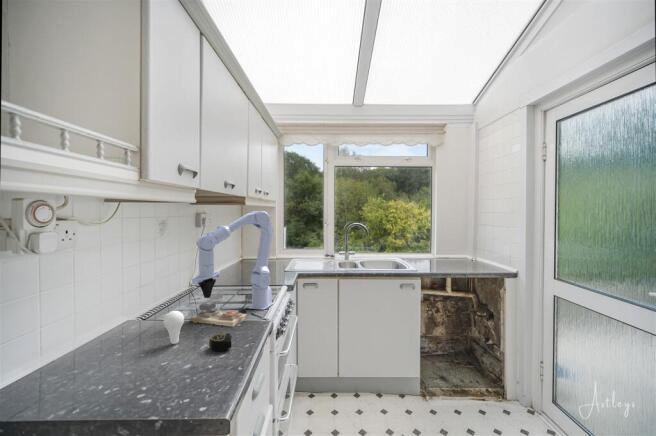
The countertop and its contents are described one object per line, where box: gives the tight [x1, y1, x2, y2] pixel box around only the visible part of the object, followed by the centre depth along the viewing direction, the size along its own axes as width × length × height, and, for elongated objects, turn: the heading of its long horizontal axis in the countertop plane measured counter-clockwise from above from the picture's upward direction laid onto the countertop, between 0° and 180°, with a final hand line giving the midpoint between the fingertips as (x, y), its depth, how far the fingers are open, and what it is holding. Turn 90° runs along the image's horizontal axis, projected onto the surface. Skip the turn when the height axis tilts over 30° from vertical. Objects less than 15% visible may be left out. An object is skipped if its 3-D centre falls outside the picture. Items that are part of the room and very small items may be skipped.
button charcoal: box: [198, 301, 217, 311], centre depth 124 cm, size 4×4×2 cm
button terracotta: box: [222, 309, 239, 318], centre depth 120 cm, size 4×4×2 cm
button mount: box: [189, 309, 248, 328], centre depth 122 cm, size 10×20×2 cm, turn 73°
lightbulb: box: [163, 310, 185, 345], centre depth 100 cm, size 6×6×11 cm
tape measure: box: [208, 332, 233, 352], centre depth 97 cm, size 7×7×4 cm
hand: (207, 297), depth 124 cm, fingers closed
